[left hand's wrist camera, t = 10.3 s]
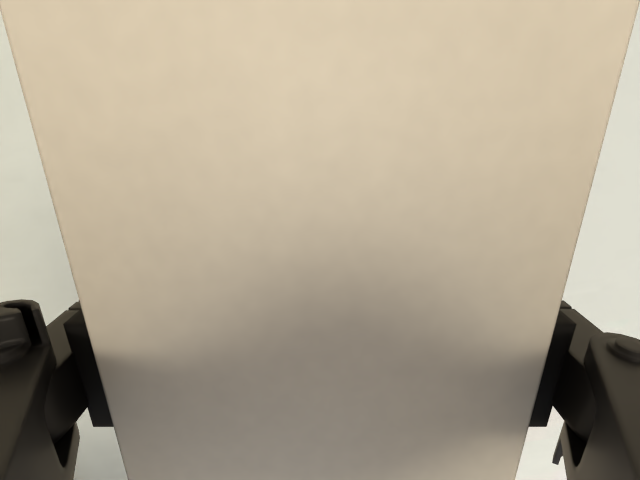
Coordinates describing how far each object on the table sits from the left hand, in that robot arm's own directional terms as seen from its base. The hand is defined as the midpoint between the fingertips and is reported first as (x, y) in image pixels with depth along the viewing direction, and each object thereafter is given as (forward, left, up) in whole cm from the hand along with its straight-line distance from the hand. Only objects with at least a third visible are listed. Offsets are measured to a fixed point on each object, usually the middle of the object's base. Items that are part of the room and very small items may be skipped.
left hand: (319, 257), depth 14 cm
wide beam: (+15, +17, -1) cm, 23 cm away
